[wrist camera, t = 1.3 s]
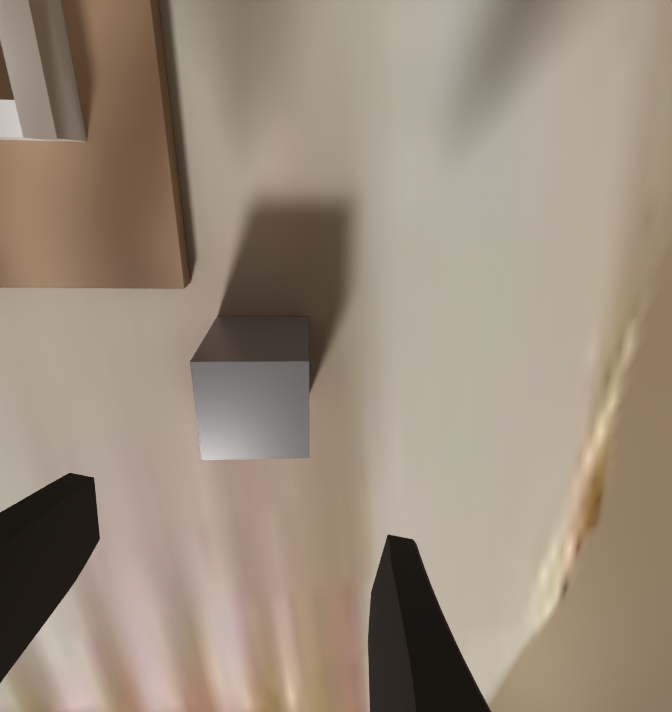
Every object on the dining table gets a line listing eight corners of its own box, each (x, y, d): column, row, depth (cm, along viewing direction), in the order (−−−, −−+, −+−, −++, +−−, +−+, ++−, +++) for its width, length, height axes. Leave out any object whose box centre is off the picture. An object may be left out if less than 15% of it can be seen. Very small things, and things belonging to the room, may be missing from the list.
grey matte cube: (224, 395, 21) (201, 459, 16) (217, 315, 19) (190, 361, 15) (308, 394, 21) (309, 457, 16) (308, 315, 19) (309, 361, 15)
